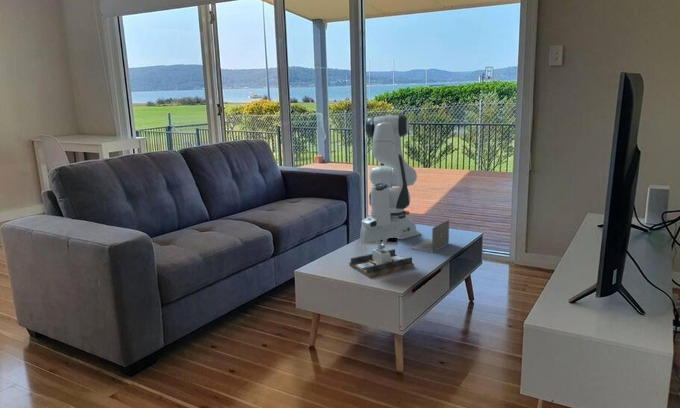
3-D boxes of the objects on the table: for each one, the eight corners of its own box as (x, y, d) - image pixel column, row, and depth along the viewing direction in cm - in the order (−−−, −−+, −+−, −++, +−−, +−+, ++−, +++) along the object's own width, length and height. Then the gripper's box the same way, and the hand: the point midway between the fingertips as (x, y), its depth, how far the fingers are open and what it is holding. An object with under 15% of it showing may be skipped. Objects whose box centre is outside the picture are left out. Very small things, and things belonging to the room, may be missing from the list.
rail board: (392, 256, 245) (392, 248, 244) (414, 266, 229) (414, 258, 228) (349, 265, 234) (349, 257, 233) (369, 277, 218) (369, 268, 218)
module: (380, 257, 236) (380, 247, 235) (390, 263, 228) (390, 252, 227) (372, 259, 234) (372, 248, 233) (382, 265, 226) (381, 254, 225)
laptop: (427, 240, 269) (427, 216, 266) (448, 244, 261) (449, 219, 258) (410, 249, 255) (410, 224, 252) (432, 253, 248) (433, 228, 245)
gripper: (395, 214, 234) (396, 242, 237) (358, 221, 225) (358, 250, 228) (403, 217, 229) (403, 246, 232) (365, 224, 219) (366, 254, 223)
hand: (381, 248), depth 230 cm, fingers closed
